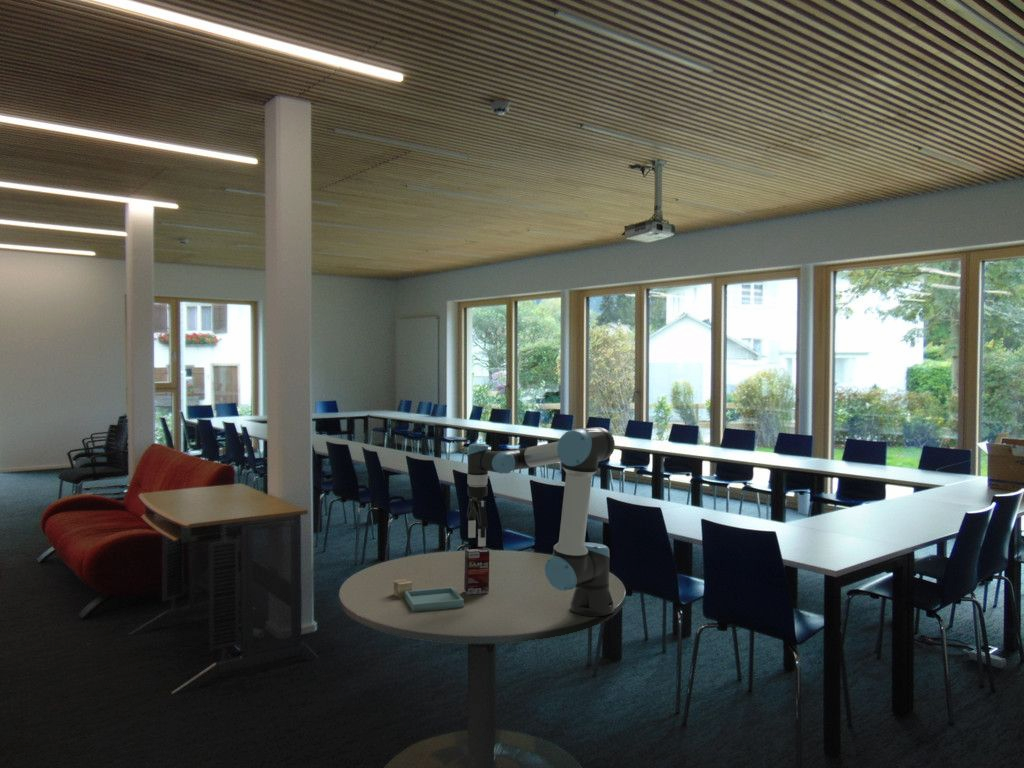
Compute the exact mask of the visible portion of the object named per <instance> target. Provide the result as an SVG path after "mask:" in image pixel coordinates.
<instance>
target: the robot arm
mask: <svg viewBox="0 0 1024 768" xmlns="http://www.w3.org/2000/svg"><path fill="white" fill-rule="evenodd" d="M615 445H616V443H615V438H614V436H613V435H612V433H611V432H610V431H609V430H608V429H606V428H604V427H599V426H595V427H587V428H586V427H583V428H574V429H571V430H568V431H566V432H564V433H563V434H562V435H561V437H560V438H559V440H558V441H553V442H549V443H543V444H538V445H534V446H527V447H524V448H518V449H517V448H516V449H509V450H503V451H502V450H500V451H494V450H490V449H489V445H488V444H486V443H471V444H469V445H468V449H467V476H466V477H467V479H466V480H467V481H466V482H467V483H466V484H467V485H468V486H467V487H466V488H467V490H466V491H467V496H468V497H469V499H468V505H467V512H466V518H467V520H468V523H467V524H468V525H467V526H468V527H467V529H468V530H467V532H468V533H467V534H468V535H467V537H468V539H473V538H476V534H478V536H477V546H478V547H486V546H487V544H486V543H487V540H486V539H487V528H489V524H488V514H487V507H486V506H487V501H486V500H484V499H483V498H484V497H487V496H488V493H489V492H488V490H489V489H488V486H487V485H488V479H489V478H490V476H489V475H488V474H489V472H491V473H498V474H500V475H501V474H510V473H511V472H512V471H517V470H525V469H530V468H535V467H536V468H537V467H539V466H540V467H542V466H547V465H552V464H558V463H562V465H561V468H562V469H563V470H564V472H565V479H564V480H565V481H564V488H563V489H564V490H563V499H562V508H561V518H560V519H561V520H560V526H559V537H558V542H557V543H556V544H554V545H553V551H552V556H550V557H549V558H548V559H547V560H546V561H545V564H544V575H545V577H546V579H547V581H548V582H549V584H550V585H551V587H552V588H554V589H555V590H558V591H562V592H565V591H570V590H573V589H574V590H573V593H572V597H571V600H570V604H569V606H570V611H571V612H573V613H575V614H578V615H581V616H585V617H586V616H587V617H603V616H608V615H610V614H613V613H614V611H615V604H614V600H613V597H612V594H611V590H610V558H611V556H610V548H609V547H608V546H607V545H605V544H602V543H597V542H586V532H587V524H588V517H589V516H588V515H589V505H590V498H591V497H590V496H591V487H592V481H593V480H592V479H593V476H594V474H596V473H597V472H598V466H599V462H602V461H605V460H607V459H609V458H610V457H611V456H612V454H613V452H614V451H615V447H616V446H615ZM476 520H477V522H478V526H476V525H477V522H476ZM476 527H477V529H476ZM476 530H477V531H476ZM476 532H477V533H476Z"/></svg>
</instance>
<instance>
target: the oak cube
mask: <svg viewBox="0 0 1024 768" xmlns="http://www.w3.org/2000/svg"><path fill="white" fill-rule="evenodd" d="M405 591H413V582H412V581H410V580H408V579H407V578H404V579H400V580H399V579H398V580H393V595H394V596H396V597H397V598H399V599H401V598H405Z"/></svg>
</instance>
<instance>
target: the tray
mask: <svg viewBox="0 0 1024 768" xmlns="http://www.w3.org/2000/svg"><path fill="white" fill-rule="evenodd" d="M404 599H405V601H406V602H407V604H408V605H409V607H410V609H411V610H412V612H413V613H415V612H424V611H426V612H427V611H436V610H445V609H456V608H464V607H465V600H464V598H463V596H461V594H460V593H459V592H458V591H457V590H456V589H455V588H454V587H453V586H449V587H448V586H447V587H437V588H436V587H435V588H428V589H426V588H425V589H424V588H423V589H416V590H415V589H414V590H413V589H412V591H405V597H404Z"/></svg>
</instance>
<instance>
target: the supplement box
mask: <svg viewBox="0 0 1024 768" xmlns="http://www.w3.org/2000/svg"><path fill="white" fill-rule="evenodd" d="M463 581H464V582H463V583H464V585H463V587H464V589H463V590H464V593H465V594H466V595H467V596H468V595H478V594H489V592H490V591H489V589H490V551H489V549H488V548H475V549H473V548H472V549H465V550H464V580H463Z"/></svg>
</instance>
